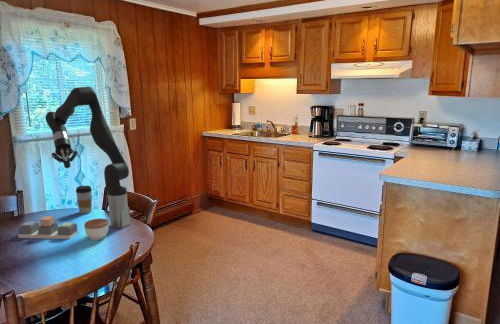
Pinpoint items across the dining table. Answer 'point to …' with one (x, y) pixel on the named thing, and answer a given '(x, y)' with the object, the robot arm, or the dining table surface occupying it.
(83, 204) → the coffee cup
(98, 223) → the lidded jar
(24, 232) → the keypad board
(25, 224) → the slate key
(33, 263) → the dining table surface
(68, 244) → the dining table surface
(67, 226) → the sage key
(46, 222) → the terracotta key
